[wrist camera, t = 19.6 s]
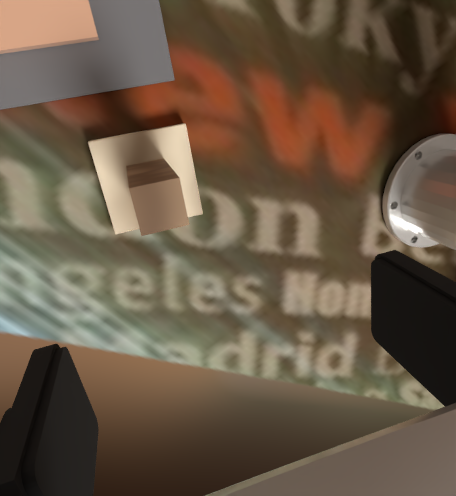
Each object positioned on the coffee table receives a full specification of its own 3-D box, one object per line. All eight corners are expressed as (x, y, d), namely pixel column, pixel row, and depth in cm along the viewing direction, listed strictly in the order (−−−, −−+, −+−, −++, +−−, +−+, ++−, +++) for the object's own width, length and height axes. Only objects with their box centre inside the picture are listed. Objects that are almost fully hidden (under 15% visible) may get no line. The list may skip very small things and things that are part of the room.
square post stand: (183, 123, 32) (209, 131, 23) (200, 210, 35) (228, 248, 26) (89, 140, 30) (76, 156, 21) (115, 230, 34) (114, 277, 24)
